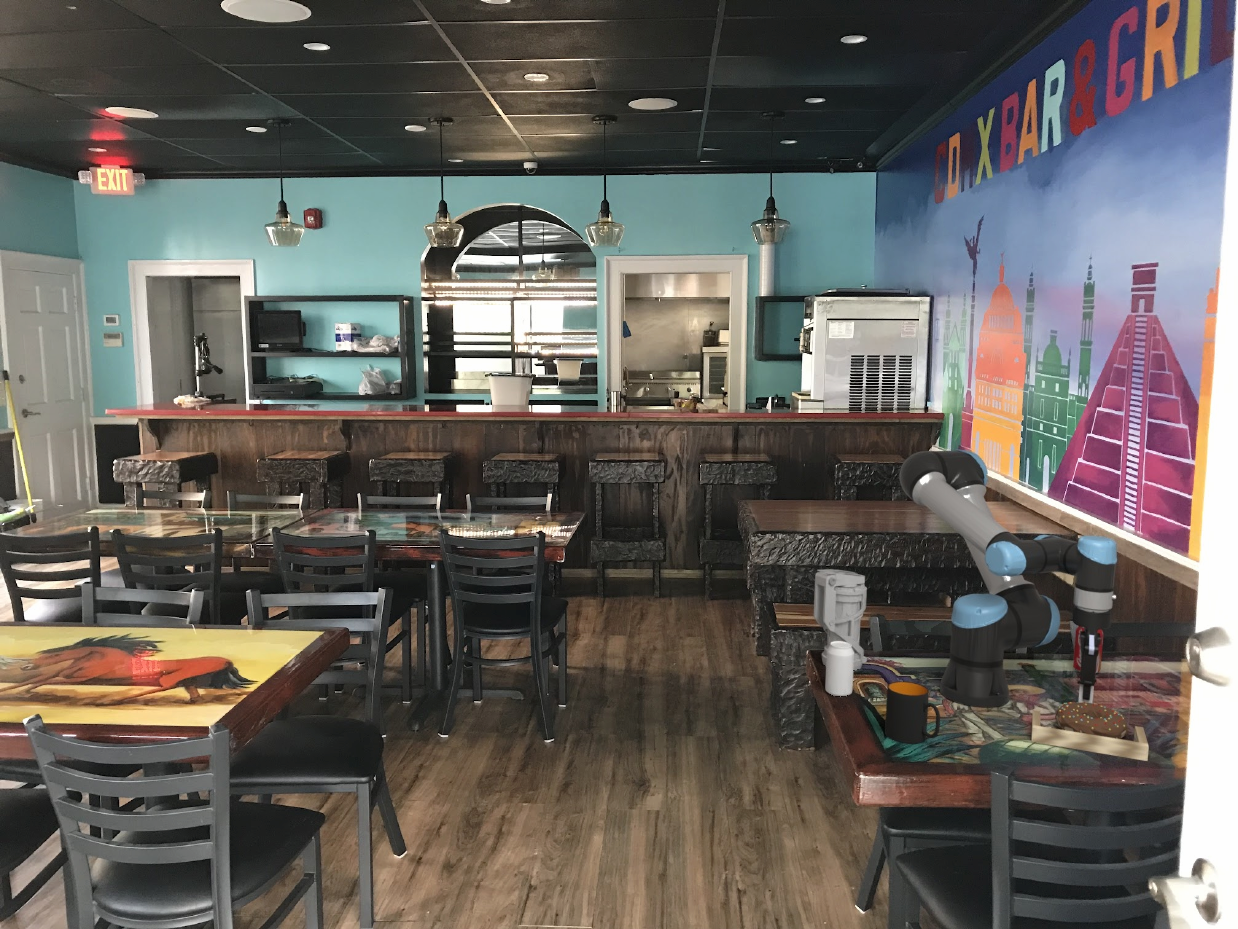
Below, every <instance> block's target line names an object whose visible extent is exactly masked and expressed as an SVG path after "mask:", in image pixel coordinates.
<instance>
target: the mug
mask: <svg viewBox="0 0 1238 929" xmlns="http://www.w3.org/2000/svg"><path fill="white" fill-rule="evenodd" d="M886 687H887V689H886V690H887V691H886V702H885V703H886V704H885V707H886V708H885V722H884V723H885V726H884V728H885V729H884V734H885V736H886V737H887V738H888V739H890V740H892V741H893V740H894V741H893V742H897V743H901V744H906V745H917V744H918V745H919V744H922V743H925V741H926V740H927V739H928V738H929V739H934V738H935V739H936V737H937V736H938V735H939V733H940V728H941V715H940V711H939V708H938V707H937V705H936V704H934V703H932V702H929V695H930V694H929V693H930V690H929V688H928V687H927V686H924V685H922V684H921V683H918V682H917V683H916V682H913V681H904V680H903V681H902V680H900V681H893V682H890V683H888V684H887V686H886ZM929 708H932V709H933V710H934V713H935V730H934V731H933V733H929V732H928V731H927V729H928V717H929V716H928V714H929V713H928V712H929Z"/></svg>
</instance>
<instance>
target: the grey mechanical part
mask: <svg viewBox="0 0 1238 929" xmlns="http://www.w3.org/2000/svg"><path fill="white" fill-rule="evenodd" d="M865 581H866V576H865V575H862V574H858V573H857V572H854V571H849V570H842V569H833V568H831V569H829V568H828V569H817V572H816V573H815V578H814V595H813V596H814V600H813V618H814V619H815V621H816V622H817V624H818V625H819V627H822V628H823V631H824V632H825V633H826V635H827V638H826V639H827V640H826V642H827V643H826V644H825V646H823V647H824V649H823V650H824V651H822V653H821V660H822V664H823V665H825V666H824V667H826V661H827V649H828V648H829V646H830V643H831V642H834V641H843V642H848V643H850V644H851V645H852V649H853V651H854V669H853V670H855V671H858V670H857V669H859V670H860V669H861V668H862V667H863V664H865V663H867V661H868V658H867V657H866V656H864V654H865V649H864V648H862V646H861V645H860V636H861V635H860V632H861V618H862V617H863V616H864V612H865V610H866V608H867V596H868V595H867V590H868V588H867V586H865Z"/></svg>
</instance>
